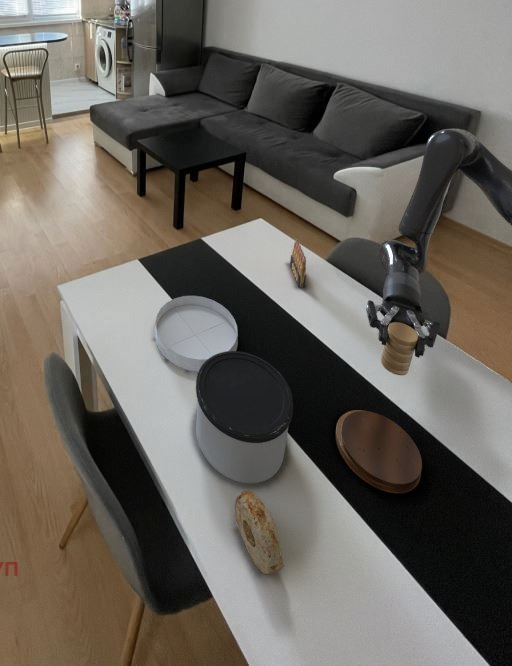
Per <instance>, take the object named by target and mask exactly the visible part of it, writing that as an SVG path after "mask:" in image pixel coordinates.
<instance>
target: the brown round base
mask: <svg viewBox="0 0 512 666" xmlns="http://www.w3.org/2000/svg"><path fill="white" fill-rule="evenodd" d="M335 443H336V446H337V449H338V452H339V454H340V456H341V458H342V460H343V461H344V462H345V464H346V466H348V468H349V469H350V470H351V471H352V472H353V473H354V474H355V475H356V476H357V477H359V478H360V480H362V481H364V482H365V483H366V484H368V485H369V486H371V487H373V488H375V489H377V490H379V491H383V492H385V493H389V494H397V495H399V494H400V495H401V494H407V493H409V492H412V491H413V490H415V489H416V487H417V486H418V485H419V484H420V481H421V477H422V470H423V461H422V460H423V459H422V455H421V453H420V451H419V448H418V447H417V445H416V443H415V442H414V440H413V438H412V437H411V436H410V435H409V434H408V433H407V431H405V430H404V429H403V428H402V427H401V426H399V424H397V423H396V422H395V421H393V420H391V419H390V418H389V417H386V416H384V415H383V414H379V413H377V412H372V411H368V410H361V409H356V410H355V409H354V410H349V411H347V412H345V413H343V414H342V415H341V416H340V417H339V419H338V420H337V422H336V428H335Z"/></svg>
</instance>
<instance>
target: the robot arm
mask: <svg viewBox="0 0 512 666" xmlns="http://www.w3.org/2000/svg"><path fill="white" fill-rule="evenodd" d="M458 171H459V172H460V173H461V174H462V175H464V176H465V177H466V178H468V179H469V180H470V181H471V182H472V183H474V184H475V185H476V186H477V187H478V188H479V190H480V191H481V192H482V193H483V195H484V196H485V198H486V199H487V200H488V201H489V203H490V204H491V206H492V207H493V208H494V210H495V212H497V214H498V215H500V217H501V218H502V219H503V220H504V221H505V222H507V224H509V226H511V227H512V169H511V168H509V167H508V166H506V165H505V163H503V162H502V161H501V160H500V159H499V158H498V157H496V156H495V154H494V153H492V152H491V151H490V150H489V148H487V147H486V146H485V145H484V144H483V143H482V142H481V141H480V140H479V139H478V138H477V137H476V136H475V135H474V134H472V133H471V132H470V131H467V130H465V129H461V128H446V129H441V130H438V131H436V132H434V133H433V134H431V135H430V136H429V137H428V139H427V141H426V143H425V149H424V153H423V157H422V164H421V167H420V171H419V175H418V178H417V181H416V184H415V187H414V190H413V192H412V195H411V197H410V200H409V201H408V204H407V206H406V208H405V211H404V213H403V215H402V217H401V220H400V222H399V224H398V229H397V230H398V232H399V233H400V235H402V236H403V237H405V238H406V239H408V240H409V241H412V242H413V243H414V244H415V246H412V245H410V244H407V243H404V242H401V241H399V240H396V239H387V240H384V241H383V242H382V243H381V245H380V247H379V253H378V255H379V260H380V263H381V266H382V268H383V270H384V273H385V280H384V283H383V289H382V303H381V304H375V302H374V301H373V300H370V299H369V300H367V304H366V308H365V311H366V315H367V320H368V325H369V327H370V328H373V329H377V331H378V337H377V340H378V341H379V342H381V345H382V346H384V345H385V346H386V342H387V335H388V326H389V325H390V324H391V323H394V322H399V323H403V324H406V325H408V326H410V327H411V328H412V329H414V330H415V332H416V333H417V335H418V340H417V343H416V347H415V350H414V357H416V358H420V357H423V356H424V354H425V351H426V346H427V347H428V348H430V349H431V348H434V345H435V342H436V340H437V336H438V333H439V330H440V328H441V323H440V322H439V321H437V320H433V322H431V321H429V320H427V319H426V317H425V316H424V315H423V300H422V288H421V281H420V278H421V277H420V274H422V273H424V272H425V271H426V269H427V264H428V252H429V251H428V249H429V244H430V239H431V237H432V234H433V233H434V230H435V228H436V225H437V223H438V221H439V218H440V216H441V213H442V209H443V205H444V201H445V197H446V196H445V195H446V193H447V190H448V188H449V185H450V183H451V181H452V179H453V178H454V176H455V175H456V173H457V172H458ZM378 312H380V314H381V315H382V316H383V318H382V320H380V319H379V318H378ZM423 326H424V327H425V328H426V331H427V333H428V335H426V334H425V333H424V331H423V330H422V327H423Z"/></svg>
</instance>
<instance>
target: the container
mask: <svg viewBox="0 0 512 666" xmlns="http://www.w3.org/2000/svg"><path fill="white" fill-rule="evenodd" d="M195 394H196V395H195V396H196V402H197V403H196V424H195V425H196V427H195V429H196V431H195V432H196V438H197V443H198V445H199V449H200V450H201V452H202V454H203V456H204V458H205V459H206V460H207V461H208V463H209V464H210V465H211V467H213V468H214V469H215V470H216V471H217V472H219V473H220V474H221V475H223V476H224V477H225V478H228V479H230V480H233V481H235V482H238V483H243V484H258V483H263V482H266V481H267V480H270V479H271V478H273V476H275V475H276V474H277V472H278V471H279V470H280V469H281V466H282V465H283V461H284V458H285V451H286V447H287V446H286V444H287V440H288V439H287V438H288V431H289V426H290V424H291V422H292V421H291V420H292V418H293V412H294V398H293V394H292V392H291V388H290V386H289V384H288V382H287V381H286V379H285V377H284V376H283V375H282V374H281V373H280V372H279V370H278V369H277V368H276V367H274V365H272V364H271V363H269V362H268V361H266V360H265V359H264V358H262V357H259V356H258V355H254V354H252V353H250V352H245V351H240V350H239V351H238V350H236V351H227V352H222V353H218V354H216V355H214V356H212V357H210V358H209V359H208V360H206V361H205V362H204V364H203V365H202V366H201V368H200V370H199V372H197V375H196V380H195Z"/></svg>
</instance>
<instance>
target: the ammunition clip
mask: <svg viewBox="0 0 512 666" xmlns="http://www.w3.org/2000/svg"><path fill="white" fill-rule="evenodd" d="M291 252H292V253H291V254H290V260H289V267H290V270H291V273H292V275H293V278H294V280H295V283H296V285H297V288H303V289H305V285H306V278H307V275H306V272H307V267H306V266H307V258H306V256H305V252H304V250H303V248H302V246H301V245H300V242H299V239H298V238H295V240H294V244H293V247H292V251H291Z"/></svg>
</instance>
